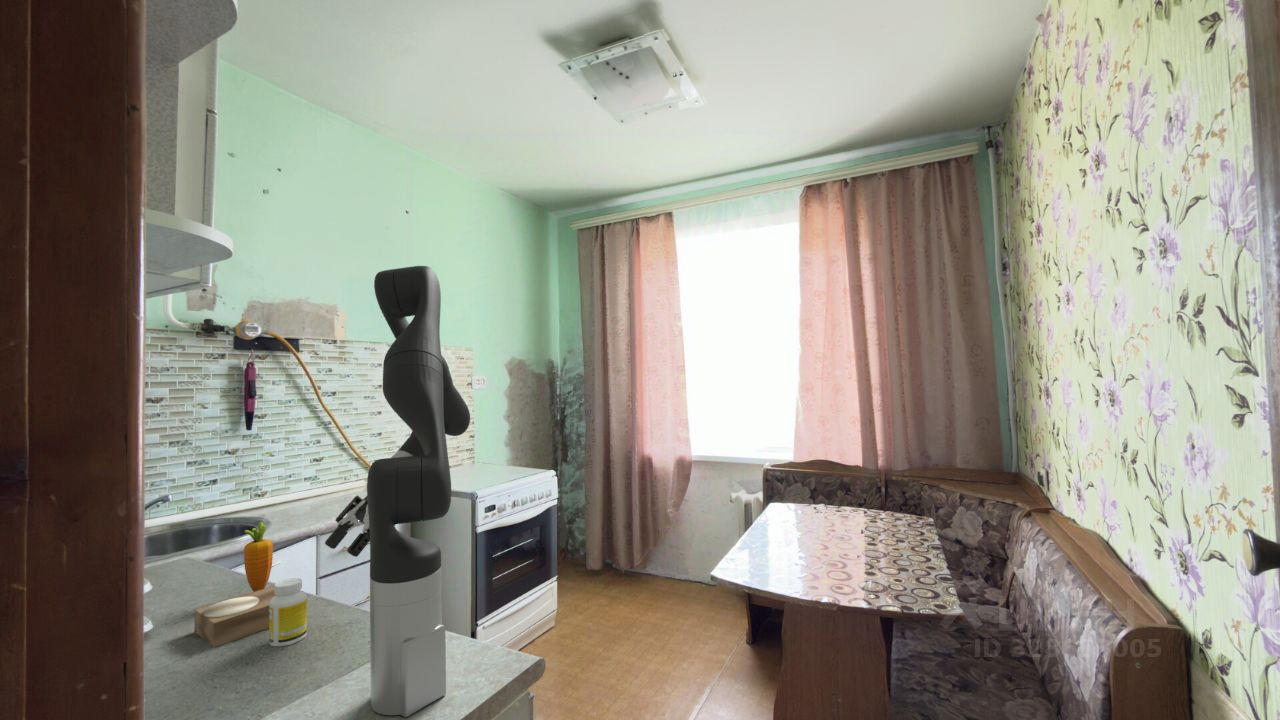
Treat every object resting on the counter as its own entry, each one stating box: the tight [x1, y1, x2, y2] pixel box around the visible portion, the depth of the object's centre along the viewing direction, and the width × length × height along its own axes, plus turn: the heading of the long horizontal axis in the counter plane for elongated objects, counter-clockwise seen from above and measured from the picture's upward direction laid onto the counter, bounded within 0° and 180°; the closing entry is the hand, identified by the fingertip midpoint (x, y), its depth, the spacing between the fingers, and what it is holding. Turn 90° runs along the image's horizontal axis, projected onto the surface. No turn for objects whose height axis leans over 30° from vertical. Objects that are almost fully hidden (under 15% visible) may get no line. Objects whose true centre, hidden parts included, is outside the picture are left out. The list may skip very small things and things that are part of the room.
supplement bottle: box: [268, 577, 308, 647], centre depth 90 cm, size 5×5×10 cm
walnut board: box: [193, 585, 276, 648], centre depth 97 cm, size 10×14×4 cm
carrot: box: [243, 521, 274, 592], centre depth 110 cm, size 5×5×15 cm
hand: (339, 550), depth 98 cm, fingers open, 8 cm apart
